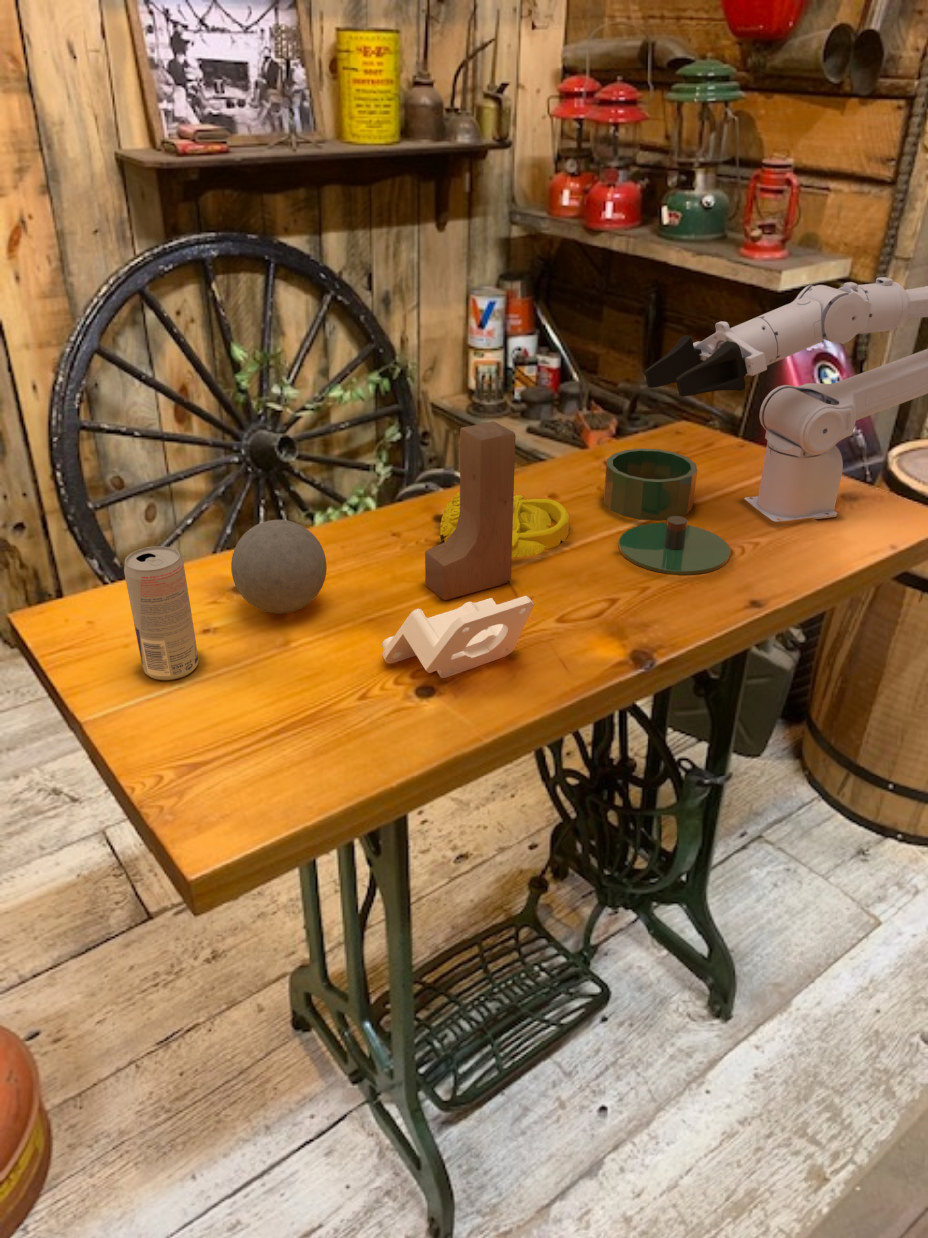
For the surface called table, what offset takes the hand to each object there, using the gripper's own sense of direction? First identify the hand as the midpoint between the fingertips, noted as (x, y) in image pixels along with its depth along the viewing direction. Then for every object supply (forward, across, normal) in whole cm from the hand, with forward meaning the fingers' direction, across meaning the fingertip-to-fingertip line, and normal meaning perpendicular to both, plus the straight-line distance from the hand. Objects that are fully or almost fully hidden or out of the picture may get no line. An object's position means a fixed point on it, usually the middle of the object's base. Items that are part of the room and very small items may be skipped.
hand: (662, 383), depth 114 cm
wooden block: (+30, +3, +12) cm, 33 cm away
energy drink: (+62, +11, +4) cm, 64 cm away
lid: (+5, +3, +19) cm, 20 cm away
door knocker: (+22, -8, +13) cm, 26 cm away
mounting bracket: (+37, +19, +13) cm, 44 cm away
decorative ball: (+50, +2, +6) cm, 51 cm away
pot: (+1, -11, +18) cm, 21 cm away
